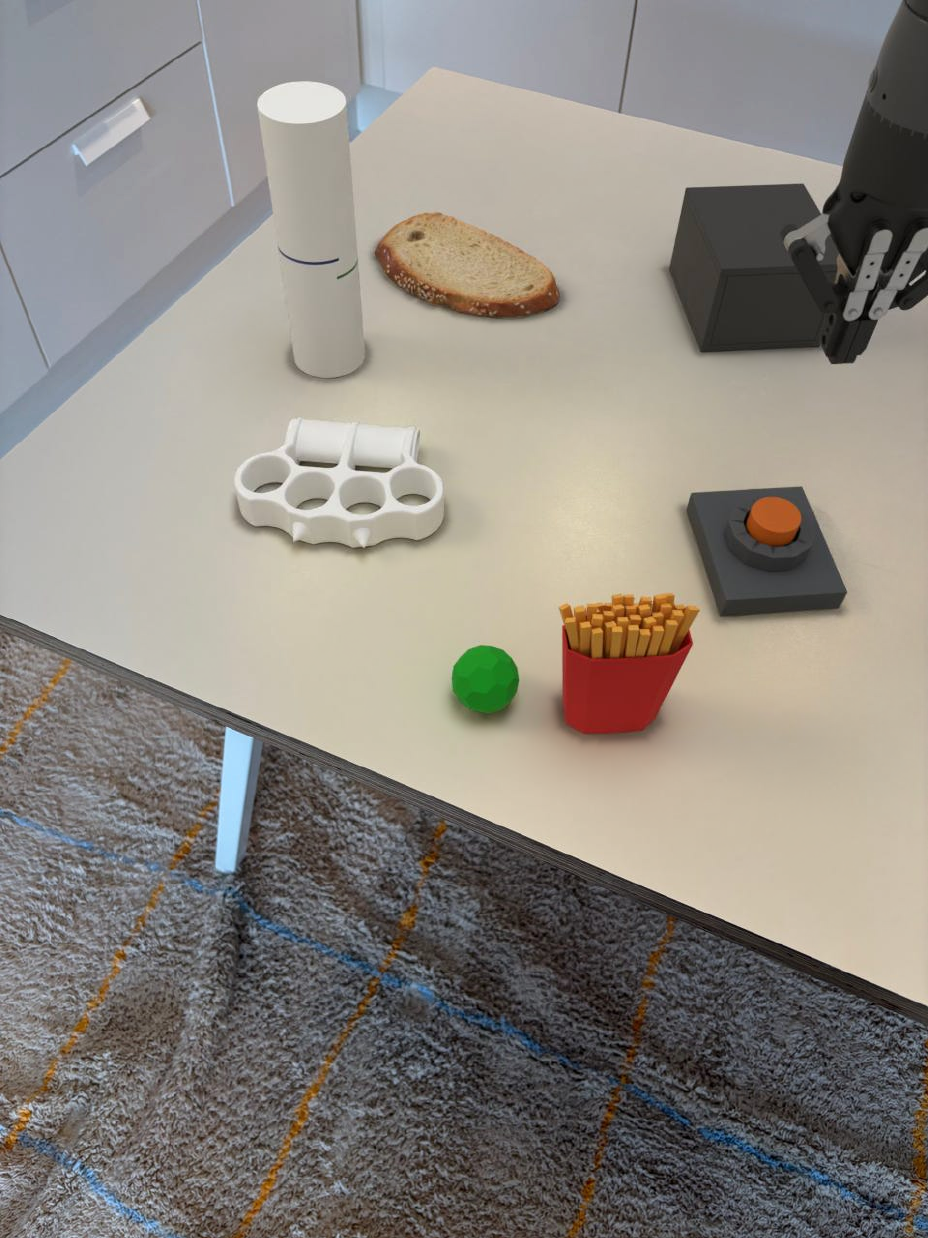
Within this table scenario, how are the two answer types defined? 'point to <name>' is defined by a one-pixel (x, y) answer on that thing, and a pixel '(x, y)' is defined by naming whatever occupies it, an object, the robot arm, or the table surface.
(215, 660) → the table surface
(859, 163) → the robot arm
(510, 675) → the polyhedron
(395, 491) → the knuckle duster
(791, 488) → the control block
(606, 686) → the french fries
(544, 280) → the bread slice
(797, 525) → the button
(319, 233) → the cylindrical container
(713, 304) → the dark grey paneled cube
